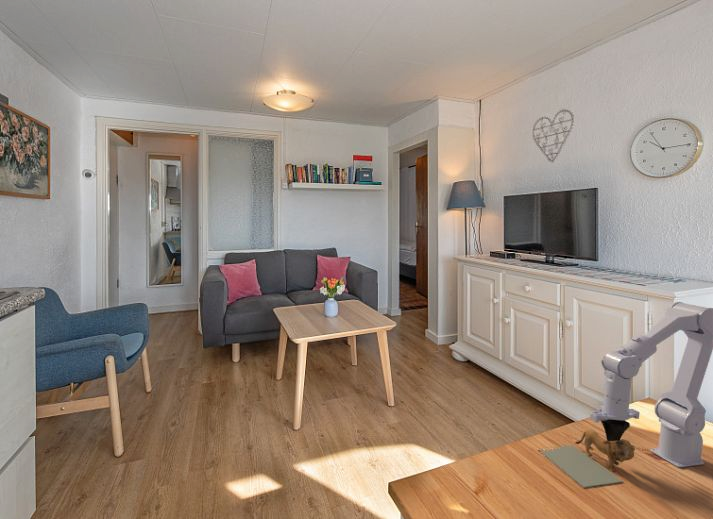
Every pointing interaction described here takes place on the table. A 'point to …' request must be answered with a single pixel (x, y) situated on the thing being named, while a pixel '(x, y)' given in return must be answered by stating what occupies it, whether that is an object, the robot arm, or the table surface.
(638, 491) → the table surface
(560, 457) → the mat
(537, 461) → the table surface
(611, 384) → the robot arm
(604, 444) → the lion figurine
